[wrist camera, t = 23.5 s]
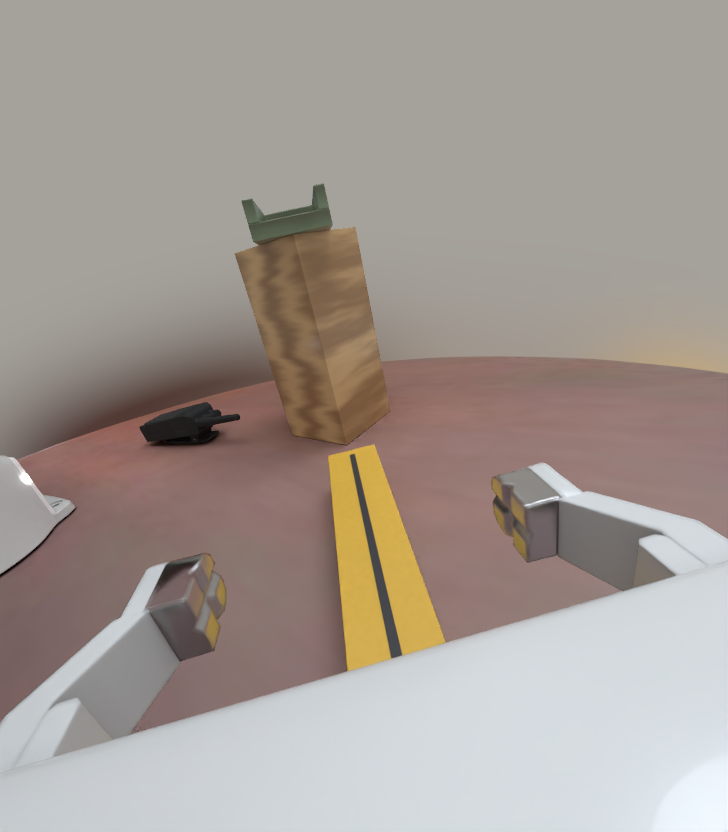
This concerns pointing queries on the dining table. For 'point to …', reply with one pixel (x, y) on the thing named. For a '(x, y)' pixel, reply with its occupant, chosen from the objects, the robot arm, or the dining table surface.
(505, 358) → the dining table surface
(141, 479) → the dining table surface
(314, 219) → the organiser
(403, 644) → the pencil case
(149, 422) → the walkie-talkie
